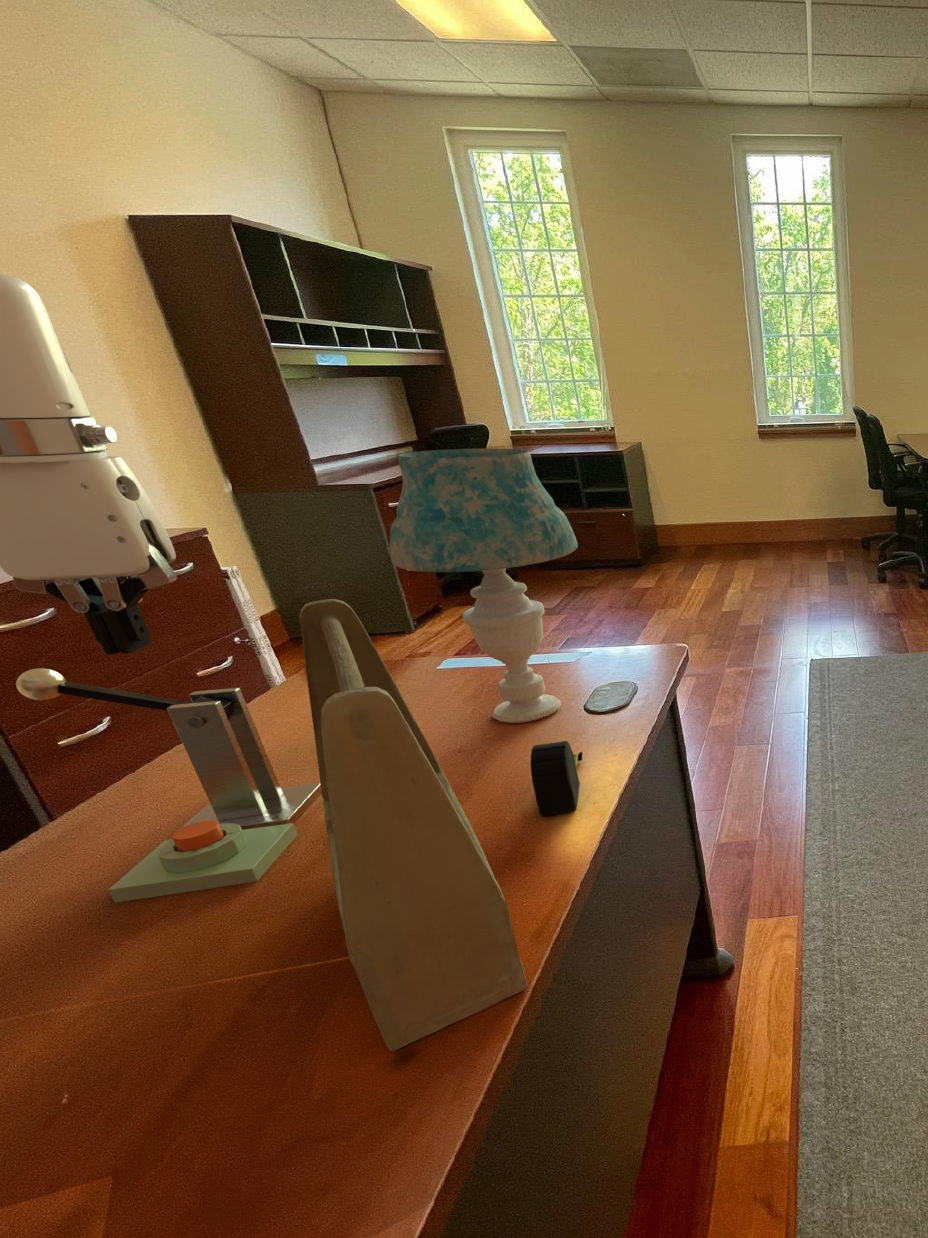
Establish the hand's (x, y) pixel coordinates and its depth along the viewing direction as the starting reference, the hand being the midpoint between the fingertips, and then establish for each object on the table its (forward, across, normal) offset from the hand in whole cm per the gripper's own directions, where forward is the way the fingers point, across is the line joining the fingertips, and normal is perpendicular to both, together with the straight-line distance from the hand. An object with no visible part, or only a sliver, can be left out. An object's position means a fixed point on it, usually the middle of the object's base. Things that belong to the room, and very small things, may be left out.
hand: (129, 648), depth 66 cm
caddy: (+26, -23, +16) cm, 38 cm away
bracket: (+26, +4, -14) cm, 30 cm away
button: (+23, +3, -3) cm, 23 cm away
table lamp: (+26, -22, -37) cm, 51 cm away
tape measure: (+26, -31, -10) cm, 42 cm away
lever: (+11, +11, -14) cm, 21 cm away
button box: (+26, +3, -2) cm, 26 cm away
